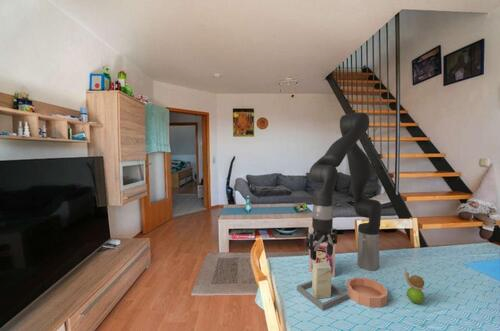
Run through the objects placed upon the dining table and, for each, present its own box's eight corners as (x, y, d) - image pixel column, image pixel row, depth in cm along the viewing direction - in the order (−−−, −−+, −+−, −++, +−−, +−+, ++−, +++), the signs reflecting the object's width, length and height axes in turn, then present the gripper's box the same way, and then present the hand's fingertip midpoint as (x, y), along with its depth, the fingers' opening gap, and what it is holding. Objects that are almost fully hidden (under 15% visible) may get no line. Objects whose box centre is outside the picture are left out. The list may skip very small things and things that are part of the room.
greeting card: (308, 272, 111) (309, 241, 110) (312, 265, 118) (312, 235, 117) (334, 278, 106) (335, 245, 105) (336, 270, 113) (336, 239, 112)
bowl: (362, 282, 102) (362, 274, 102) (395, 299, 90) (395, 291, 90) (339, 291, 96) (339, 283, 95) (371, 312, 83) (372, 302, 83)
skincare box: (316, 299, 91) (316, 268, 90) (311, 292, 95) (311, 262, 95) (331, 297, 92) (332, 267, 91) (326, 290, 96) (326, 261, 95)
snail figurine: (404, 295, 93) (405, 265, 92) (424, 301, 89) (425, 270, 88) (402, 301, 89) (403, 270, 88) (423, 309, 85) (425, 276, 84)
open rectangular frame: (320, 281, 103) (320, 277, 103) (347, 299, 91) (347, 294, 90) (297, 290, 97) (297, 285, 97) (322, 310, 84) (322, 305, 84)
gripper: (328, 211, 98) (327, 250, 99) (301, 216, 92) (301, 257, 92) (343, 216, 92) (342, 257, 93) (315, 221, 85) (315, 265, 86)
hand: (321, 257), depth 93 cm, fingers open, 8 cm apart
